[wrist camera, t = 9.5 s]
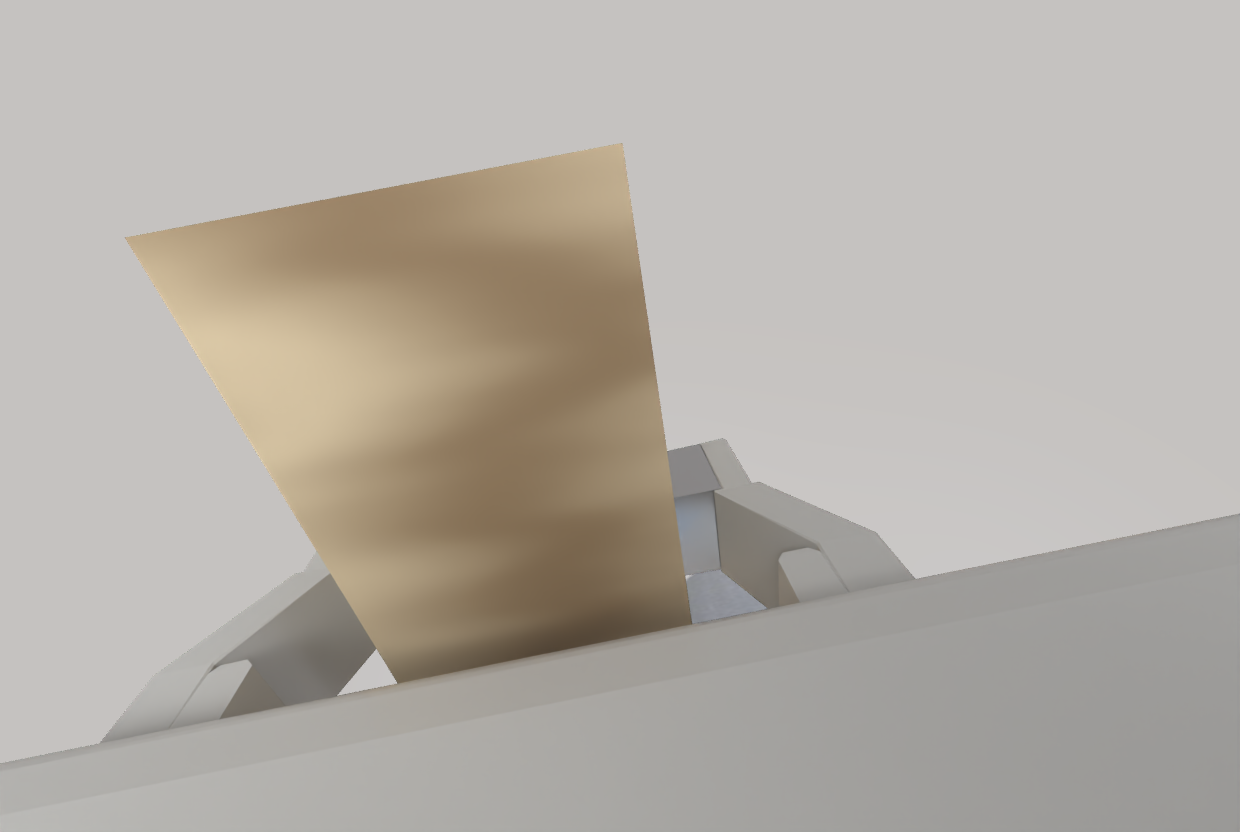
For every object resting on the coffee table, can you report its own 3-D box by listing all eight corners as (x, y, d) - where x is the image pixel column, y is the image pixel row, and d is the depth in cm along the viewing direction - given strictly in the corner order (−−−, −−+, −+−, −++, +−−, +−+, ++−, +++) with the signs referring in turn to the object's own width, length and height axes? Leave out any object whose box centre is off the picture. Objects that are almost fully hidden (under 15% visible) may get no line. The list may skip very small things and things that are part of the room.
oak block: (526, 892, 11) (124, 236, 4) (536, 697, 15) (333, 200, 8) (725, 852, 11) (622, 142, 4) (682, 668, 15) (594, 151, 8)
